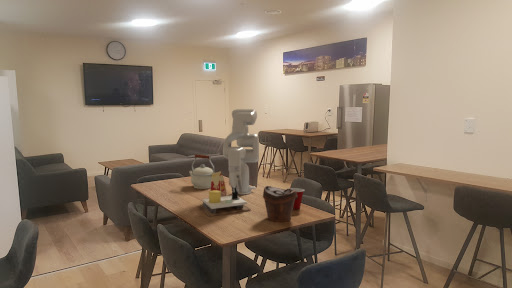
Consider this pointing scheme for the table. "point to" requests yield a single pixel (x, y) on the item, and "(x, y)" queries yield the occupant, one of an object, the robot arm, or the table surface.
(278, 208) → the brown flower pot
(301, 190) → the plastic cup
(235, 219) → the table surface
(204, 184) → the kettle
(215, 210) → the leveling stand
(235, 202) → the instrument plate
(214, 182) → the milk carton
